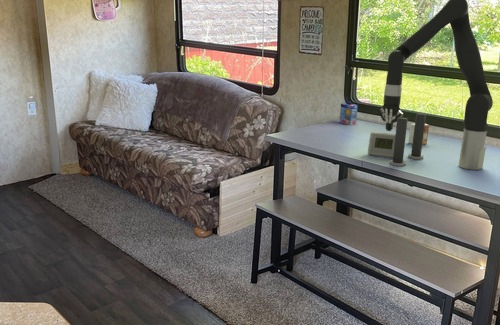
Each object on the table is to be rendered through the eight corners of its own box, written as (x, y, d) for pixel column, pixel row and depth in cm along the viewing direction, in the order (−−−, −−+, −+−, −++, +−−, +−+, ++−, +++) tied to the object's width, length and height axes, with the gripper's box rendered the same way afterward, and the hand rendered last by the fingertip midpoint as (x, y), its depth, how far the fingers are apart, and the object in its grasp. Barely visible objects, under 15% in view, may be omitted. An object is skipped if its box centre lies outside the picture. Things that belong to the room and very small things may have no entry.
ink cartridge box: (338, 122, 311) (340, 99, 307) (345, 121, 314) (346, 99, 310) (350, 125, 304) (352, 102, 300) (356, 124, 307) (358, 101, 303)
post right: (425, 157, 236) (431, 114, 230) (418, 160, 231) (424, 116, 225) (412, 154, 240) (417, 112, 234) (405, 157, 236) (410, 113, 230)
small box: (414, 145, 259) (417, 125, 256) (407, 142, 264) (410, 123, 261) (427, 144, 262) (429, 124, 259) (419, 141, 267) (422, 122, 264)
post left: (408, 164, 224) (413, 118, 218) (400, 167, 219) (405, 120, 213) (394, 160, 229) (399, 116, 223) (386, 163, 224) (391, 118, 218)
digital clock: (365, 154, 238) (367, 133, 235) (372, 151, 246) (374, 130, 243) (398, 160, 230) (401, 138, 227) (404, 156, 237) (407, 135, 234)
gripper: (409, 95, 227) (405, 132, 232) (384, 91, 237) (380, 127, 241) (401, 96, 222) (397, 134, 227) (375, 93, 231) (372, 129, 236)
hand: (388, 130), depth 234 cm, fingers closed
